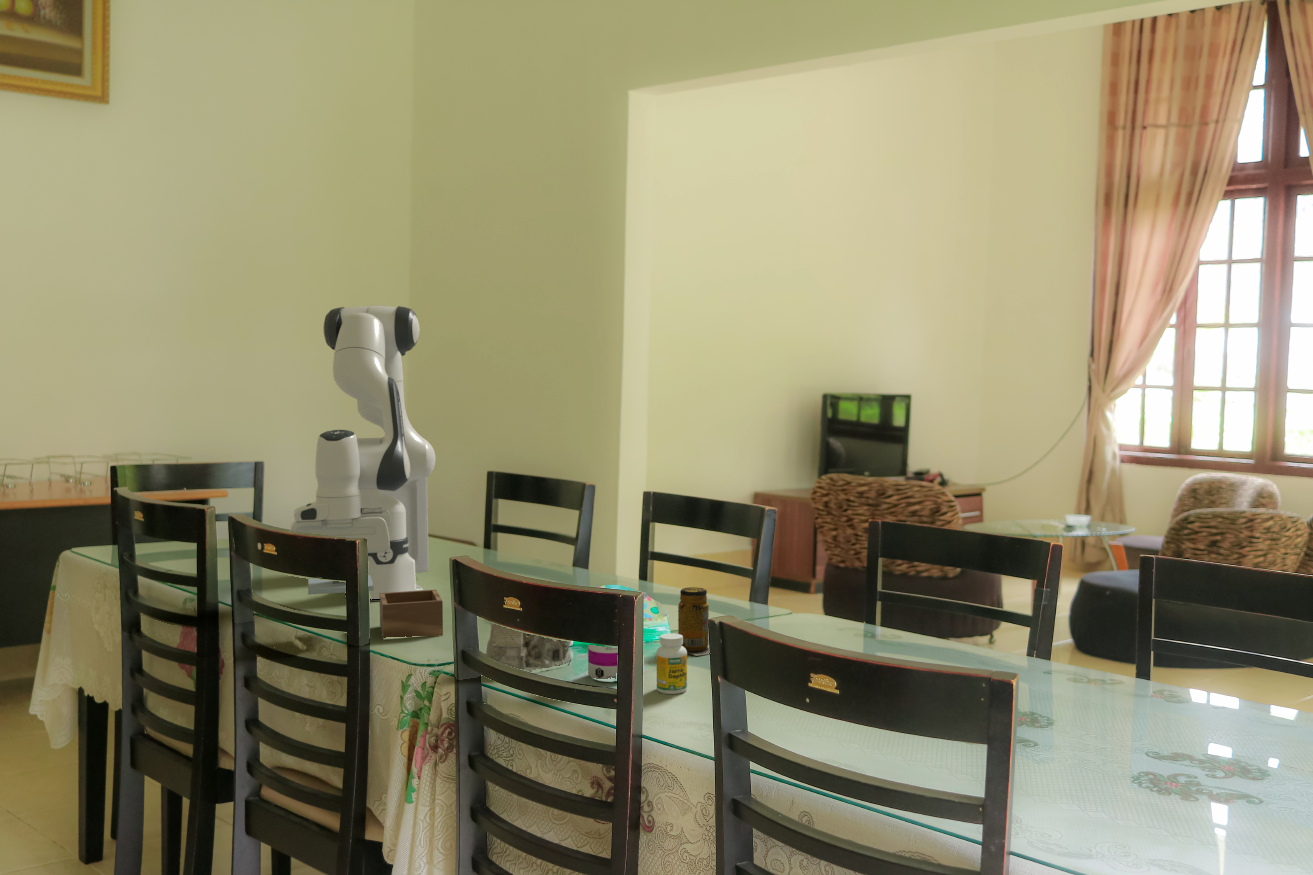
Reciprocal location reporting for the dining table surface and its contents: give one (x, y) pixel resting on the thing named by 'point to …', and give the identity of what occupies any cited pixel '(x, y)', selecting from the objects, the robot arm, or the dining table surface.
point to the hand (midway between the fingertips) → (340, 575)
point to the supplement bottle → (671, 664)
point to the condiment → (694, 620)
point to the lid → (330, 586)
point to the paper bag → (415, 520)
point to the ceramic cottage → (525, 649)
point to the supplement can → (602, 662)
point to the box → (411, 613)
